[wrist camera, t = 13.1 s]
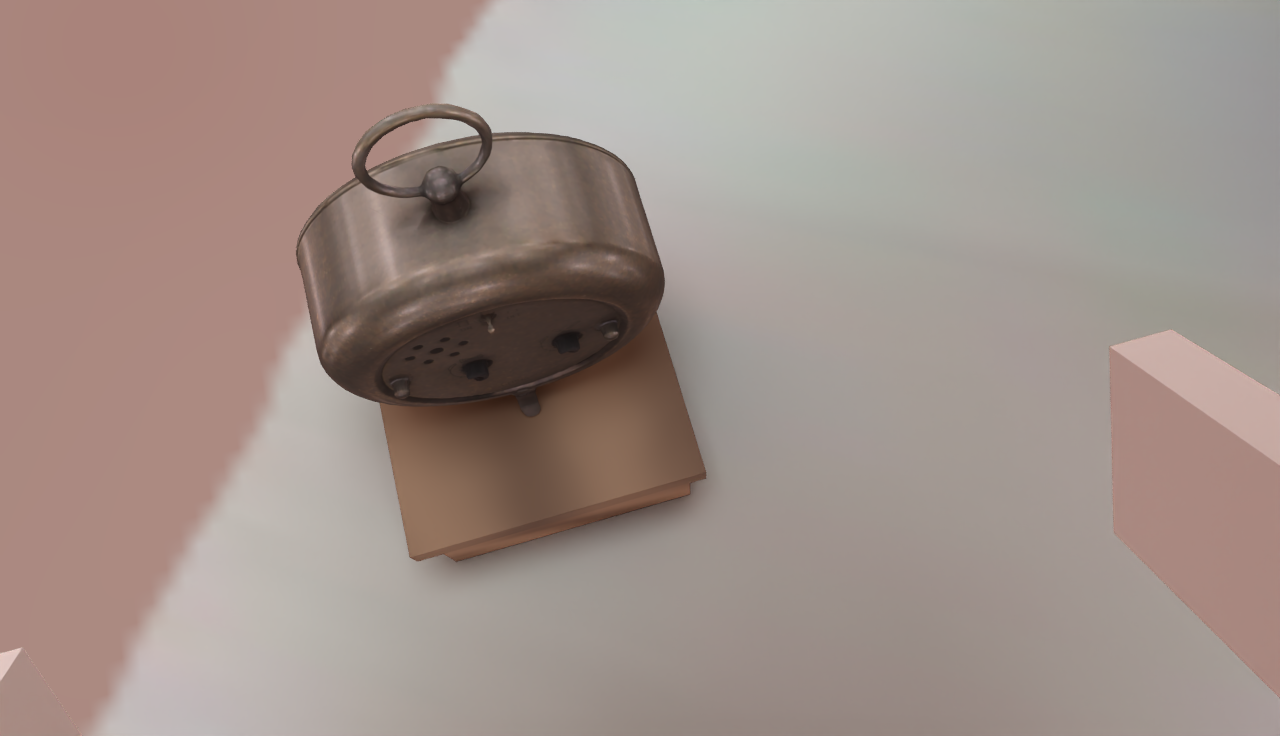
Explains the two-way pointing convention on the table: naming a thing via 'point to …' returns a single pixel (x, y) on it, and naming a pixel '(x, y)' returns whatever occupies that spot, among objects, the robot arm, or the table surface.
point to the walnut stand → (544, 455)
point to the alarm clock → (477, 266)
